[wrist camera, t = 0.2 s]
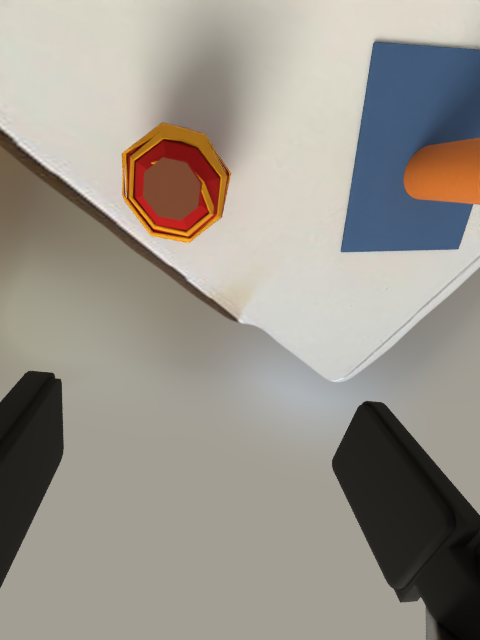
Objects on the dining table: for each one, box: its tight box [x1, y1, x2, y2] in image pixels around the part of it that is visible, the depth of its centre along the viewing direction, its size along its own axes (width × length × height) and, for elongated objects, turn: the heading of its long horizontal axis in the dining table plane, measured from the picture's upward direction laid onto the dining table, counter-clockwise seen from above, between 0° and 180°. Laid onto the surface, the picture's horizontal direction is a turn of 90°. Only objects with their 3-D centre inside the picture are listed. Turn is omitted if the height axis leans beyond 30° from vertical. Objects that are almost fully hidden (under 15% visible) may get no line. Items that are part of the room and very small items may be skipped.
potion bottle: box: [122, 123, 231, 243], centre depth 27 cm, size 10×10×15 cm
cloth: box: [341, 42, 480, 252], centre depth 36 cm, size 22×18×1 cm
